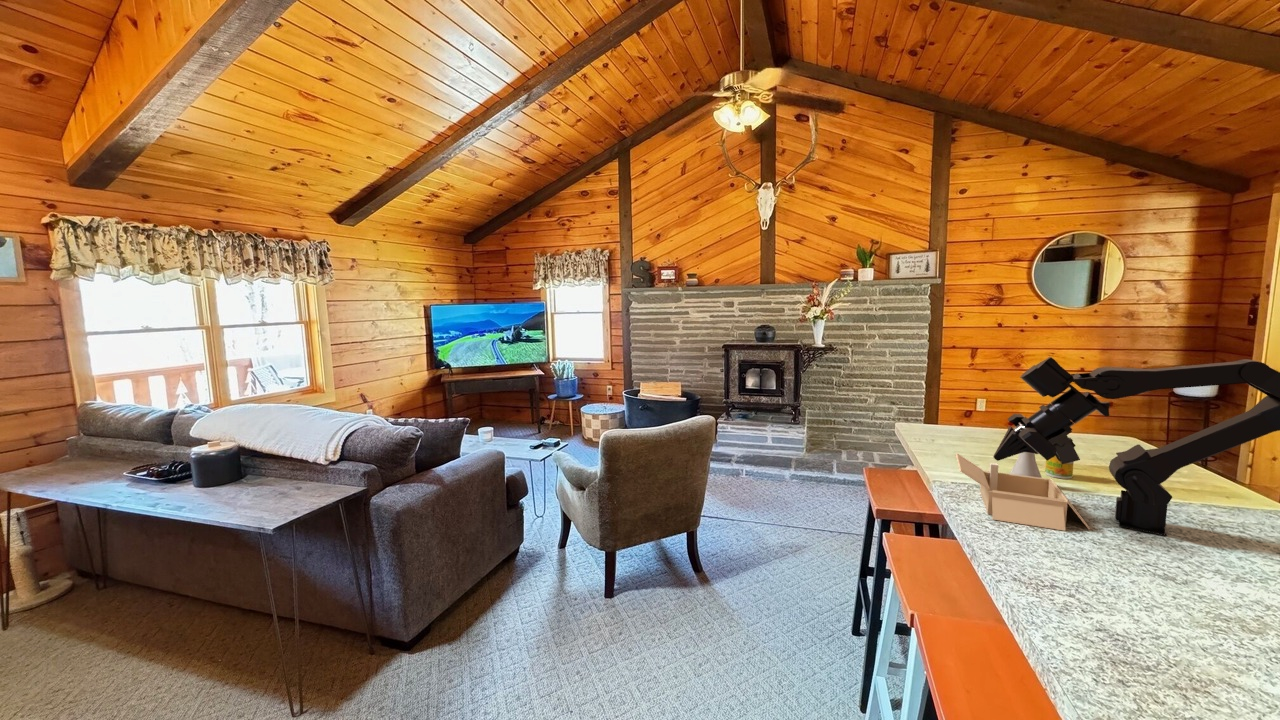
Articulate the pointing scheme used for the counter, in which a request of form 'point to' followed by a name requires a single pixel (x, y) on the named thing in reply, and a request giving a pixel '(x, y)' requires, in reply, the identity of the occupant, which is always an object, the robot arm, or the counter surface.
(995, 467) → the foam post
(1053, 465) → the supplement bottle
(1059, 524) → the carton
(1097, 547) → the counter surface
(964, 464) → the far flap
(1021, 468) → the flask
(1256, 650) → the counter surface
